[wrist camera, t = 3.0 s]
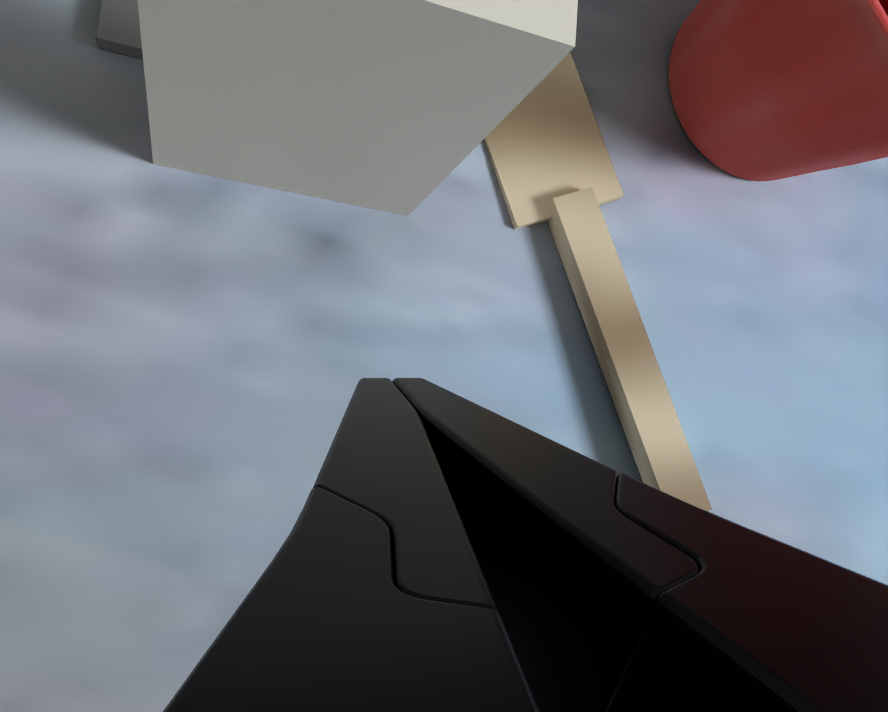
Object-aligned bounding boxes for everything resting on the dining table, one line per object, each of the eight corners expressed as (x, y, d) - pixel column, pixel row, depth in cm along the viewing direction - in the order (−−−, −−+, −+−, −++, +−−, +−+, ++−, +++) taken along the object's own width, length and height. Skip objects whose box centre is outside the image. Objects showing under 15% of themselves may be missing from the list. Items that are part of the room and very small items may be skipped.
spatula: (726, 493, 26) (744, 494, 25) (624, 538, 25) (639, 541, 24) (562, 51, 27) (572, 36, 26) (456, 75, 26) (463, 60, 25)
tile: (407, 215, 24) (575, 47, 14) (153, 164, 22) (128, -91, 11) (414, 144, 25) (582, -72, 14) (165, 85, 22) (152, -231, 12)
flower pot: (785, 273, 30) (1052, 197, 21) (586, 99, 27) (788, -74, 18) (873, 91, 33) (1140, -45, 24) (701, -80, 30) (924, -304, 21)
